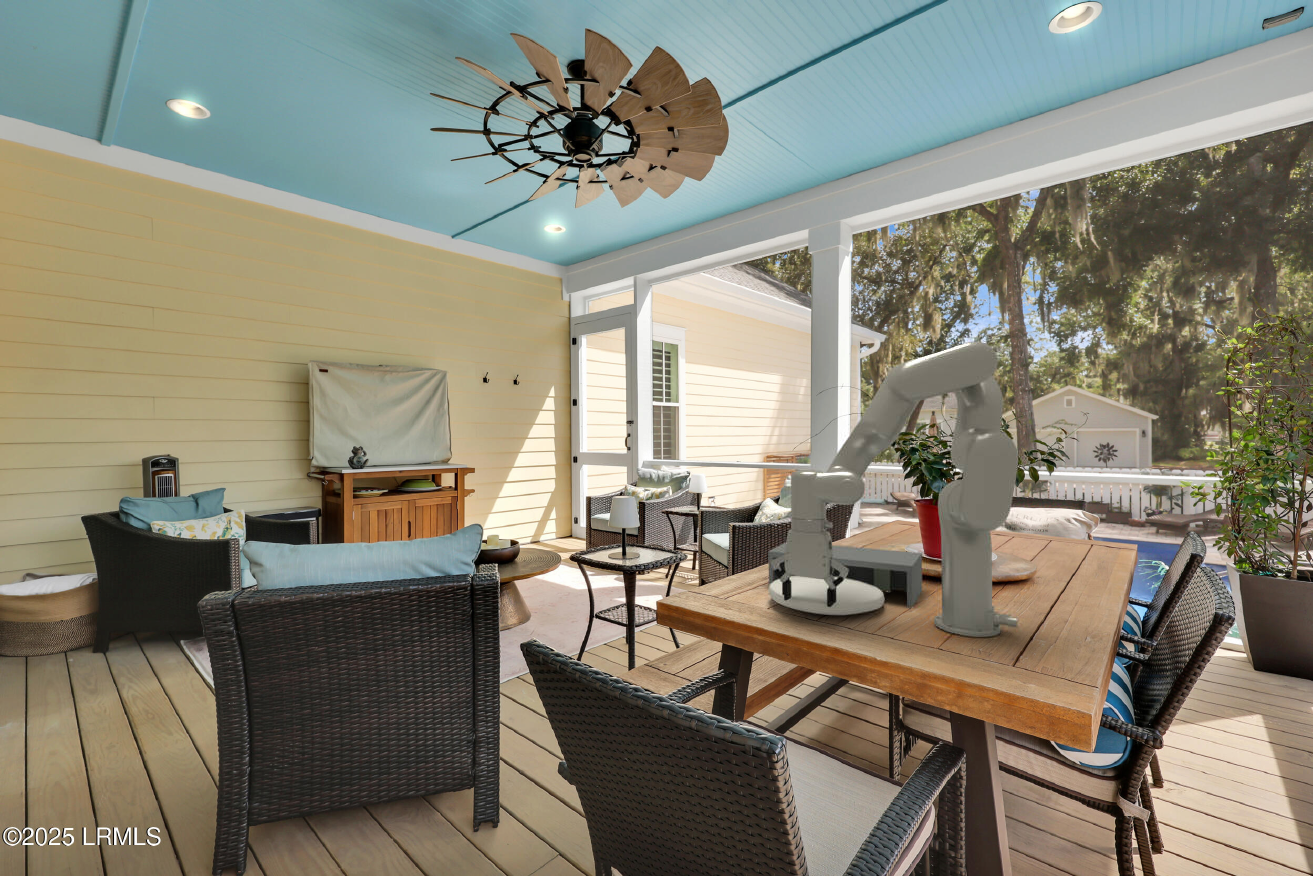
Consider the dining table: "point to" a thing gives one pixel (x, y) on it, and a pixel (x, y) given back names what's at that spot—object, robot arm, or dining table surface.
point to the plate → (814, 596)
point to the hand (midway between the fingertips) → (808, 602)
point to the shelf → (872, 568)
